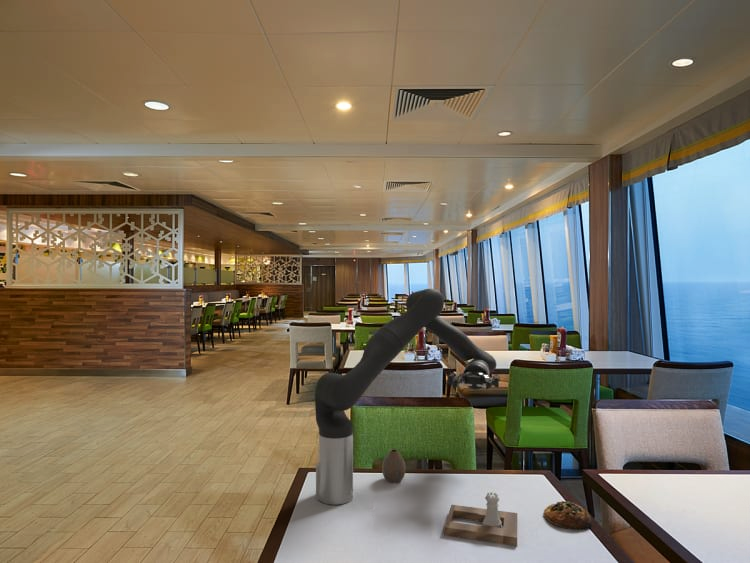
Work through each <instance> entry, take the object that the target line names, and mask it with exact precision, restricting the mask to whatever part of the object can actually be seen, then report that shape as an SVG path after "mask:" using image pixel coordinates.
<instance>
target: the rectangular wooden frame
mask: <svg viewBox="0 0 750 563" xmlns="http://www.w3.org/2000/svg"><path fill="white" fill-rule="evenodd" d="M486 513H487V508H483V507H482V508H481V507H475V506H474V507H472V506H466V505H458V504H451V505H450V508H449V511H448V514H447V517H446V520H445V524H444V527H443V528H444V529H443V530H444V531H443V533H444V534H443V535H444V536H448V537H453V538H454V537H456V538H462V539H468V540H476V541H483V542H489V543H495V544H499V545H500V544H501V545H507V546H515V547H517V546H518V513H517V512H513V511H512V512H511V511H503V510H498V516H499V518H500V520H501V522H502V525H501V526H503V527H502V528H498V527H491V526H484V525H481V524H469V523H464V522H458V521H457V522H456V521H454V519H462V520H467V521H477V522H478V523H483V520H484V519H485V516H486Z"/></svg>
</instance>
